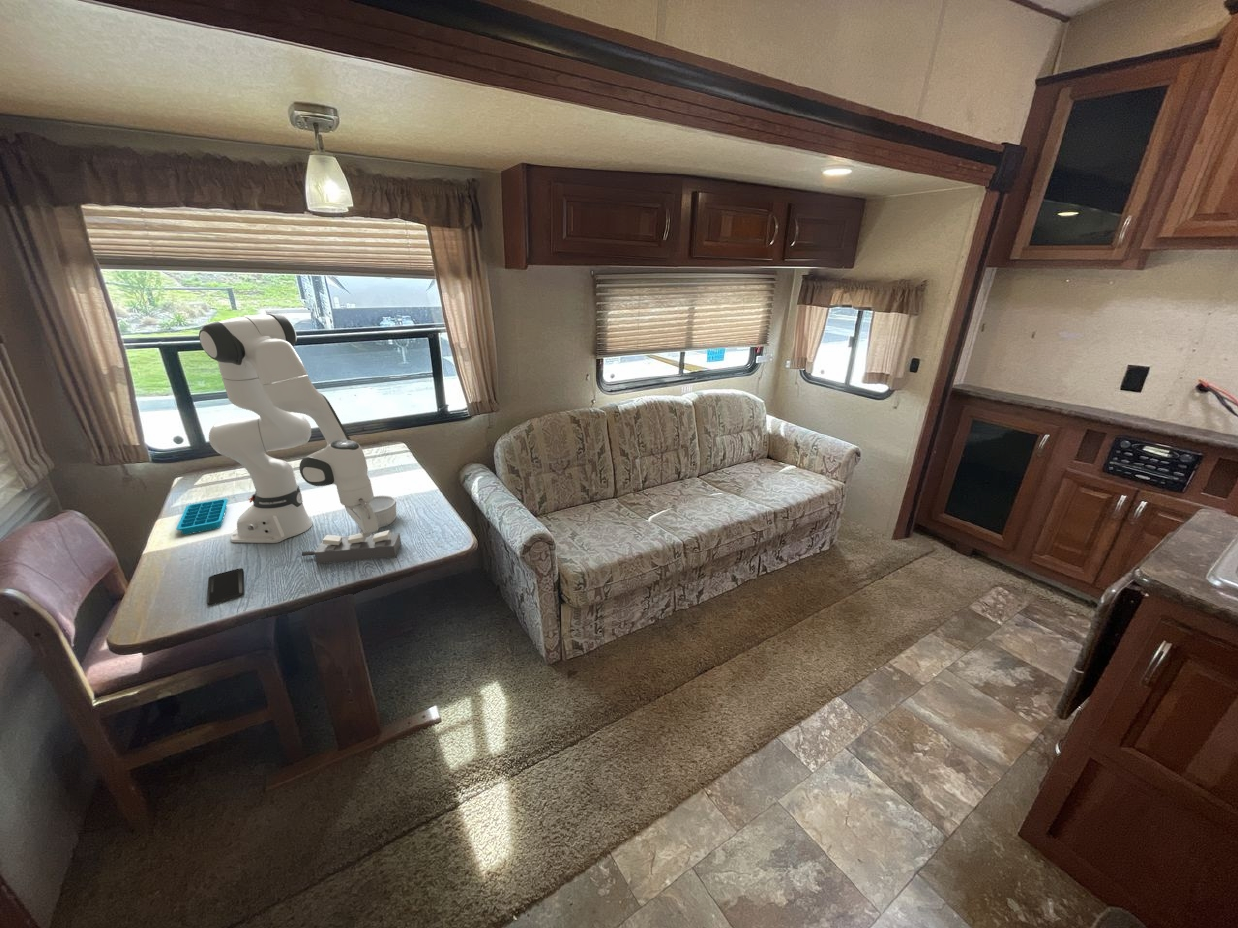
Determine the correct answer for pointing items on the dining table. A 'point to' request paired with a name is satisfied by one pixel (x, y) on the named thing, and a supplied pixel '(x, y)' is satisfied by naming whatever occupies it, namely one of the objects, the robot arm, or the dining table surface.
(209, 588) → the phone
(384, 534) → the block
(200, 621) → the dining table surface
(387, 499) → the ramekin
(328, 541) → the rocker
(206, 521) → the ice cube tray
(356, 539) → the rocker
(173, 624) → the dining table surface
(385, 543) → the power strip
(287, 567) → the dining table surface
